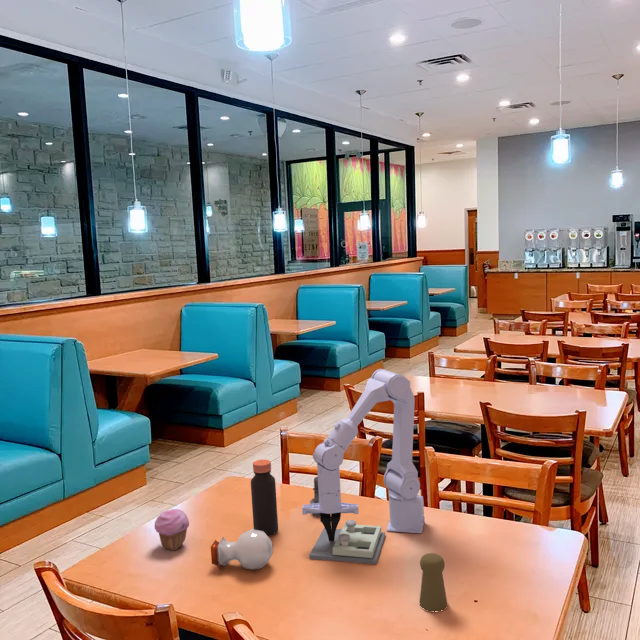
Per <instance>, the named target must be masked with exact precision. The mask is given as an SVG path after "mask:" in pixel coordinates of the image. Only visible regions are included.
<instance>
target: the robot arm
mask: <svg viewBox="0 0 640 640" xmlns="http://www.w3.org/2000/svg"><path fill="white" fill-rule="evenodd" d="M415 399H416V398H415V395H414V393H413V391H412V388H411V381H410V380H409V379H408V378H407V377H406V376H404V375H403V374H401V373H397V372H393V371H391V370H390V371H389V370H387V369H383V368H378V369H376V370H375V371H374V372H373V373H372V375H371V377H370V378H369V379H368V380H367V382H366V385H365V389H364V391H363V392H362V394H361V395H360V396H359V398H358V400H357V402H356V403H355V404H354V406H353V408H352V409H351V411H350V412H349V413H348V415H347V417H346V418H342V419H340V420H338V421H337V422H335V424H333V427H334V428H333V429H332V431H330V434H328V436H327V438H324V440H323V442H321V443H319V444H318V445H317V446H316V448H315V449H314V453H313V454H312V459H313V460H314V462H315V463H316V464H317V465H316V467H317V470H316V471H317V476H318V491H319V503H314V504H310V503H309V504H302V508H301V510H302V516H304V515H305V516H306V515H308V514H309V515H310V514H311V515H312V514H315V513H320V517H319V520H320V522H321V523H322V526H323V527H324V528H325V529H326V532H327V535H328V538H329V541H334V540H335V532H336V529H338V525H339V522H340V520H341V515H342V514H354V515H359V503H349V502H342V496H341V494H342V492H341V475H340V473H341V472H340V467H341V465H342V464H343V462H344V455H345V453H346V450H347V449H348V448H349V446H350V445H351V443H352V441H353V440H354V439H355V438H356V436H357V435H358V433H359V429H358V426H359V425H360V423H361V422H362V421H363V420H364V419H365V417H366V416H367V415H368V414H369V412H371V410H372V409H373V407H375V405H376V404H378V403H382V402H388V401H391V402H392V403H393V427H392V428H393V429H392V450H391V451H392V452H391V460H390V461H389V462H387V464H386V471H385V472H384V475H383V484H384V486H385V487H387V491H388V492H387V493H388V507H389V509H388V510H389V522H388V524H387V527H386V531H387V532H397V533H398V532H399V533H408V534H409V533H411V534H422V533H423V529H424V524H425V508H424V506H425V504H424V502H425V501H424V496H423V495H418V494H419V493H420V490H421V483H420V480H419V477H418V476H419V475H418V473H419V471H418V470H417V468H416V466H415V464H414V463H413V452H414V450H413V447H414V446H413V445H414V425H415V403H416V402H415V401H416V400H415Z"/></svg>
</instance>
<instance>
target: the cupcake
mask: <svg viewBox="0 0 640 640" xmlns="http://www.w3.org/2000/svg"><path fill="white" fill-rule="evenodd" d="M189 526H190V521H189V518H188V516H187V514H186V512H184V510H181V509H178V508H174V509H170V510H165V511H162V512H161V513H160V514H159V515H158V516H157V517H156V519H155V521H154V529H155V530H154V531H156V532H157V533H158V536H159V541H160V543H161V546H162V548H163V549H167V550H170V551H177V550H178V549H180V548H181V546H182V545H183V543H184V542H185V540H186V537H187V530H188V528H189Z"/></svg>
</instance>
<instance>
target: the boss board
mask: <svg viewBox="0 0 640 640" xmlns="http://www.w3.org/2000/svg"><path fill="white" fill-rule="evenodd" d="M345 524H346V526H348V531H350V532H355V528H354V526H356V525H357V521H356V520H354V519H348V520H345ZM341 530H342V528H336V532H335V540H334V541H329V538H328V535H327V532H326V529H325V527H324V528H323V529H322V530H321V532H320V534H319V537H318V538H317V540H316V542H315V544H314V545H313V547H312V549H311V551H310V553H309V555H308V557H309V558H308V559H310V560H319V561H320V560H321V561H330V560H331V561H333V562H342V561H343V562H344V563H345V562H346V563H356V564H357V563H358V564H367V565H368V564H369V565H377V562H378V559H379V557H380V553H381V550H382V547H383V545H384V541H385V538H386V532H384V531H383V532H382V531H381V534H380V537H379V540H378V543H377V546H376V549H375V551H374V554H373V557H372V558H366V557H354V556H342V555H333V547H334V545H335V542H336V540H337V538H338V536H339V540H341V546H348V540H349V539H350V535H349V534H341V535H339V534H340V532H341ZM364 534H372V535H374V534H375V533H364ZM356 549H368V550H369V548H367V547H358V548H356ZM343 562H342V563H343Z"/></svg>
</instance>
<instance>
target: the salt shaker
mask: <svg viewBox="0 0 640 640" xmlns="http://www.w3.org/2000/svg"><path fill="white" fill-rule="evenodd" d="M313 486H314V487H313V488H312V490H313V492H314V493H313V496H314V497H313V498H312V499H310V500H309V504H314V503H319V491H318V475H317V476H315V477H314V479H313ZM311 515H312V517H313V516H314V517H318V518H320V513H315V514H311Z"/></svg>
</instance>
